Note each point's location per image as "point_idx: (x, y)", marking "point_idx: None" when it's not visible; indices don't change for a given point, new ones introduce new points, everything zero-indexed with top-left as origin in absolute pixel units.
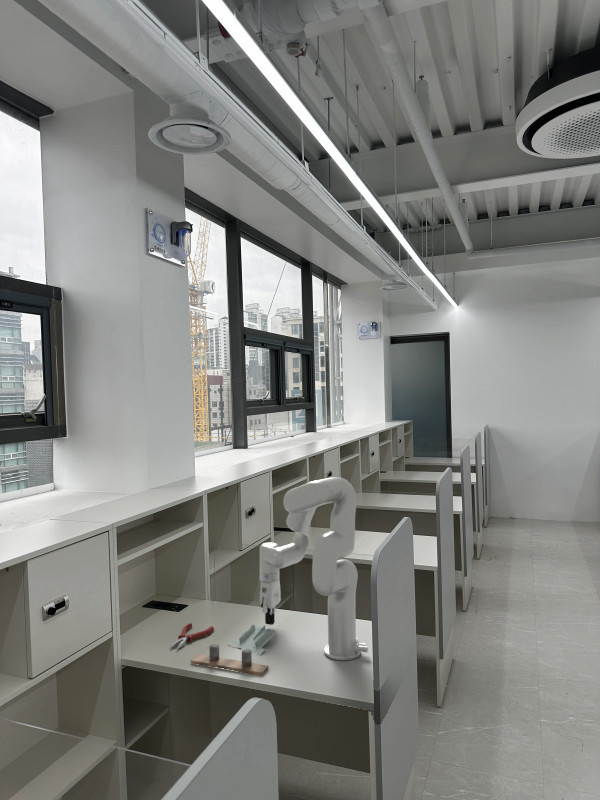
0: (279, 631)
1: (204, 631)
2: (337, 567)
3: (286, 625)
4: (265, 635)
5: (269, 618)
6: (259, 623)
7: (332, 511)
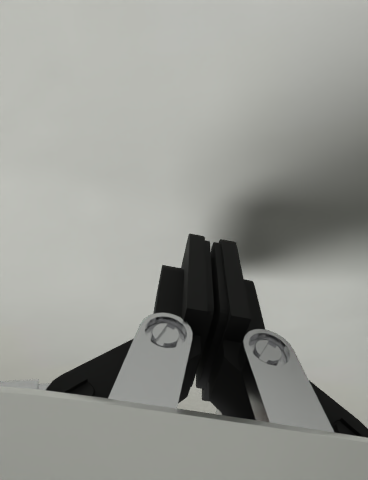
0: (276, 140)
1: None
2: None
3: (97, 93)
4: None
5: (259, 317)
6: (116, 336)
7: None
